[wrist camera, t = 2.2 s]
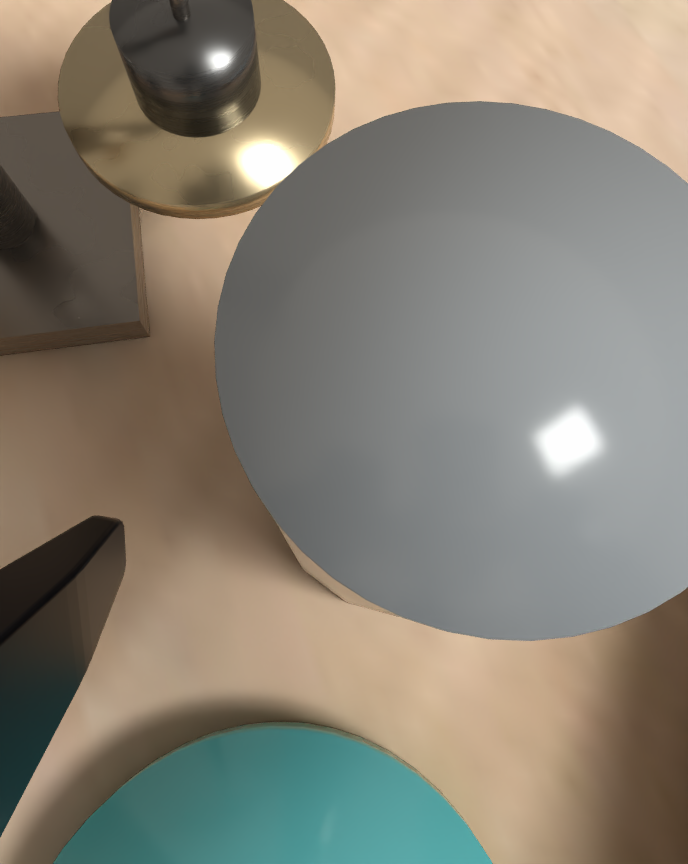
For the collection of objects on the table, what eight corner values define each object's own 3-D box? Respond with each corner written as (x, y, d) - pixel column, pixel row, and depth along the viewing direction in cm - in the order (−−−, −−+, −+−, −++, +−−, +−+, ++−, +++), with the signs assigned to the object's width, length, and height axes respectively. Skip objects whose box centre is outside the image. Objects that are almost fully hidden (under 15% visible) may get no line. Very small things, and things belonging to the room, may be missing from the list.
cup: (407, 653, 18) (606, 783, 6) (240, 527, 19) (91, 395, 6) (519, 484, 20) (874, 290, 7) (359, 373, 20) (426, 17, 8)
